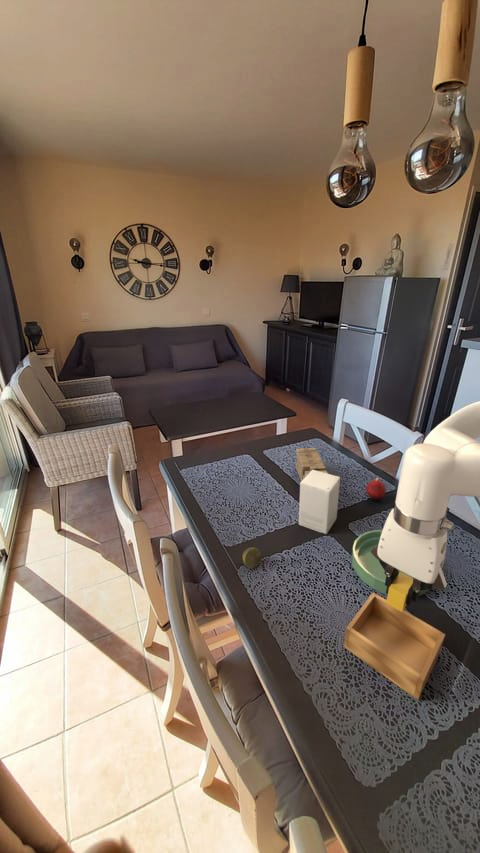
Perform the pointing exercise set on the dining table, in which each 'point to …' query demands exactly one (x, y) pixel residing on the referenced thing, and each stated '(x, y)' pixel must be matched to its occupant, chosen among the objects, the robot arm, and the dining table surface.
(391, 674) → the holder
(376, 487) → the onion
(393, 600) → the yellow small block
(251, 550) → the lime
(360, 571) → the bowl
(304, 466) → the block tower
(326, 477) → the white product box
